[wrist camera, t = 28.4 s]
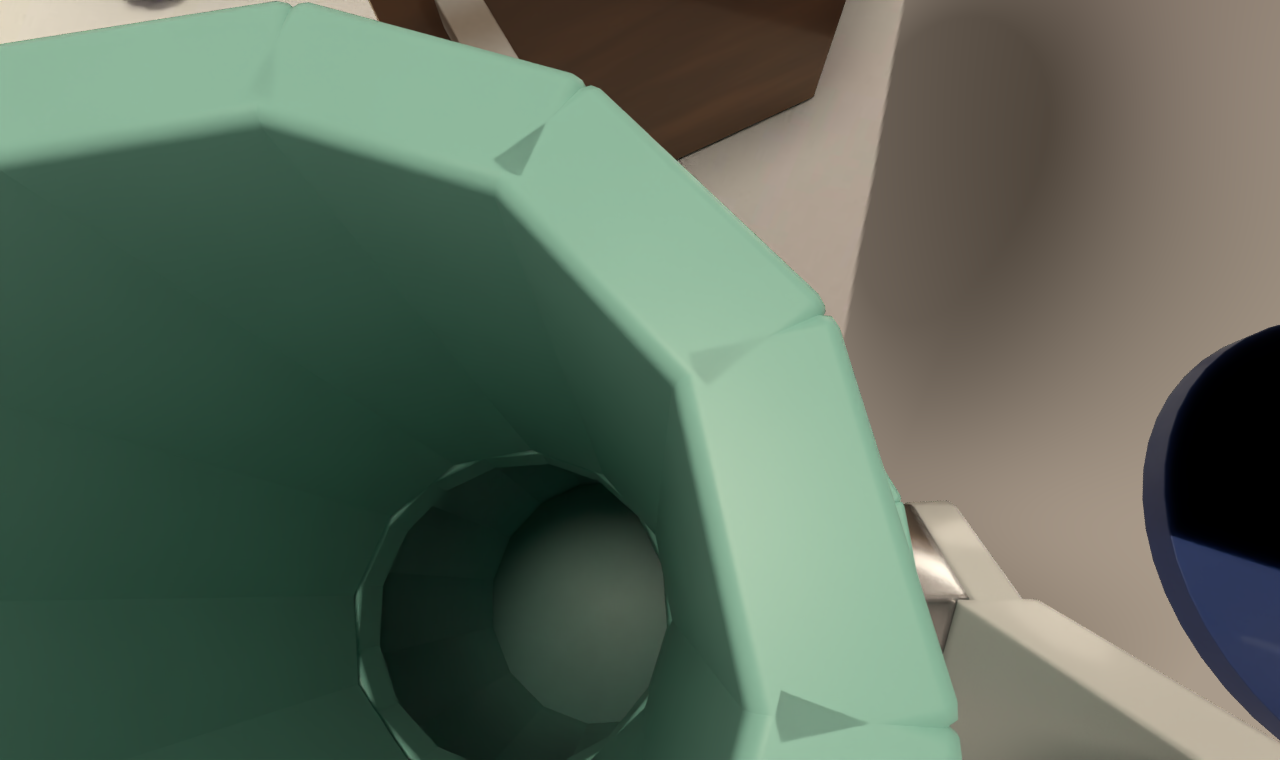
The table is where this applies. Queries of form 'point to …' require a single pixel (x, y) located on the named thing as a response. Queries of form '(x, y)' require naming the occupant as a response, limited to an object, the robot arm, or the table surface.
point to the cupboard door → (653, 53)
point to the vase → (418, 424)
